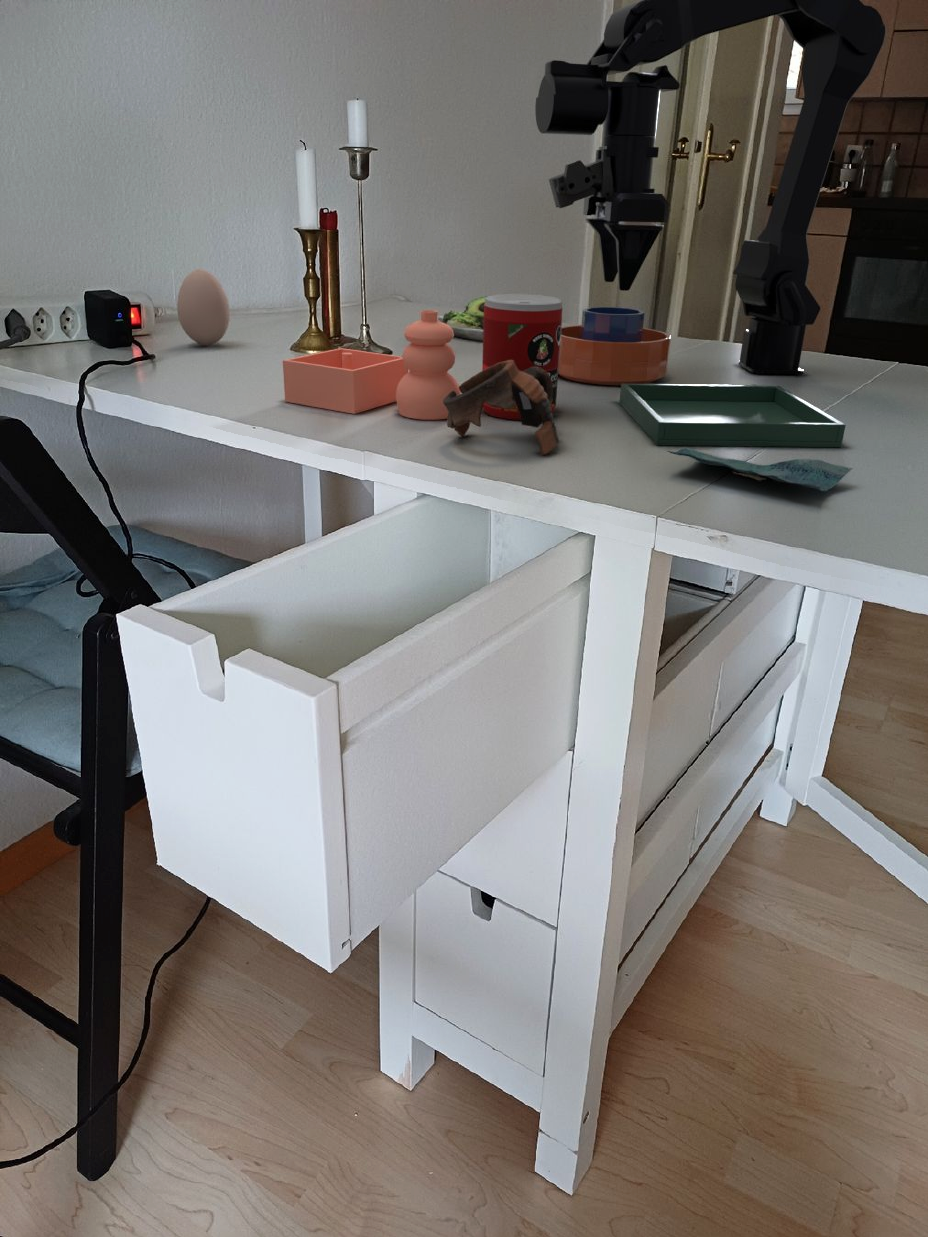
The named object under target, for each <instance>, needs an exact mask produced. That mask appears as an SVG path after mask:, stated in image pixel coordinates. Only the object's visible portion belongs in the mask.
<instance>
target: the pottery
mask: <svg viewBox="0 0 928 1237" xmlns="http://www.w3.org/2000/svg"><path fill="white" fill-rule="evenodd" d="M438 313H439V312H438V310H435V309H433V310H432V309H423V310H420V320H417V321H414V322H412V323H410V324H409V325H408V326H407V327H405V329H404V333H403V336H404V337H405V340H406V341H407V342H409V344H407V345H406V346H405V347H404V349H403V352H402V356H400V355H392V354H387V353H378V352H371V351H365V350H357V349H349V348H342V347H339V348H333V349H330V350H324V351H320V352H315V353H310V354H305V355H301V356H296V357H292V358H287V359H283V360H282V374H283V375H282V376H283V389H284V390H283V391H284V402H286V403H292V404H297V405H302V406H307V407H308V406H309V407H313V408H320V409H325V410H330V411H336V412H342V413H347V414H354V415H355V414H358V413H361V412H365V411H369V410H372V409H375V408H378V407H382V406H385V405H389V404H391V403H395V402H396V405H397V409H398V414H399V415H400V416H402V417H405V418H409V419H415V420H425V421H426V420H427V421H428V420H429V421H435V420H436V421H437V420H447V417H448V413H449V411H448V410H447V408H446V406H445V405H444V404H443V400H444V398H445V397H446V396H447V395H448V394H449V393H450V392H451V391H455V392H456V395H457V396H458V395H460V394H462V393H461V392H460V390H459V386H460V385H459V382H458V381H457V379H456V378H455V377H454V376H453V375H452V374H451V373H449V371H450V370H451V369H452V368H453V367H454V365H455V363H456V352H455V350H454V348H453V347H452V346H451V345H449V343H450V342H451V341H452V340H453V338H454V337H455V336H454V333H453V329H452V328H451V327H450V326H449V325H447V324H445V323H442V322H439V321H437V316H439V314H438Z"/></svg>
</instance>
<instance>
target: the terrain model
mask: <svg viewBox="0 0 928 1237" xmlns="http://www.w3.org/2000/svg"><path fill="white" fill-rule="evenodd" d="M666 452H667V453H670V454H672V455H676V456H683V457H689V458H691V459H694V460H696V461H698V462H700V463H703V464H704V465H709V466H717V467H726V468H729V469H731V473H733V474H736V475H739V476H743V477H746V478H747V477H749V478H751V479H755V480H756V481H760V482H761V481H762V480H765V481H766V480H767V479H768V478H769V479H772V480H773V481H775V482H780V483H787V484H792V485H798V486H801V487H806V488H810V489H815V490H819V491H821V492H827V491H829V490H830V489H832V488H833V487H835V486H836V485H837V484H838V483H839V482H840V481H841V480H843V478H844V477H846V475H848V473H850V472H851V471H852V470H853V469H854V468H853V467H847V466H843V465H838V464H835V463H830V462H827V461H825V460H822V459H814V458H799V459H791V460H785V461H779V462H775V463H772V464H766V465H759V464H755V463H751V462H749V461H745V460H740V459H734V458H725V459H724V458H720V457H718V456H713V455H711V454H709V453H705V452H702V451H698V450H695V449H694V448H693V449H692V448H690V447H689V448H688V447H685V448H680V449H678V450H676V451H670V450H666Z"/></svg>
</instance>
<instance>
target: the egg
mask: <svg viewBox="0 0 928 1237" xmlns="http://www.w3.org/2000/svg"><path fill="white" fill-rule="evenodd" d="M176 300H177V301H176V303H177V304H176V310H177V318H178V321H179V324H180V326H181V328H182V330H183V331H184V333H185V334H186V336H188V337H189V338H190V339H191V340H192V341H194V342H195V343H196V344H198V345H201V346H212V345H215V344H216V343H218V342H220V340H221V339H223V337H224V336H225V334H226V333H227V331H228V328H229V325H230V322H231V309H230V303H229V298H228V296H227V293H226V291H225V290H224V288H223V286H222V284H221V282H220V281H219V279H218V278H217V277H216V276H215V275H214V274H213V273H211V272H209V271H207V270H205V269H200V268H198V269H194V270H192V271H191V272H189V273H188V274H187V275H186V276H185V277H184V279H183V281H182V283H181V285H180V287H179V291H178V295H177V299H176Z"/></svg>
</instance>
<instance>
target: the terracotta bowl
mask: <svg viewBox="0 0 928 1237" xmlns="http://www.w3.org/2000/svg"><path fill="white" fill-rule="evenodd" d="M581 326H582V324H576V325H575V324H574V325H565V326H561V340H560V354H559V368H558V376H560V377H562V378H564V379H566V380H569V381H572V382H573V381H574V382H578V383H583V384H592V385H601V386H621V384H652V383H654V382H656V381H657V380H659V379H662V378H665V377H666V376H667V373H668V367H669V360H670V359H669V358H670V348H671V341H672V335H671V334H669V333H667V332H665V331H661V330H658V329H653V328H647V327H643V332H642V342H605V341H593V340H584V339H581Z"/></svg>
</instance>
